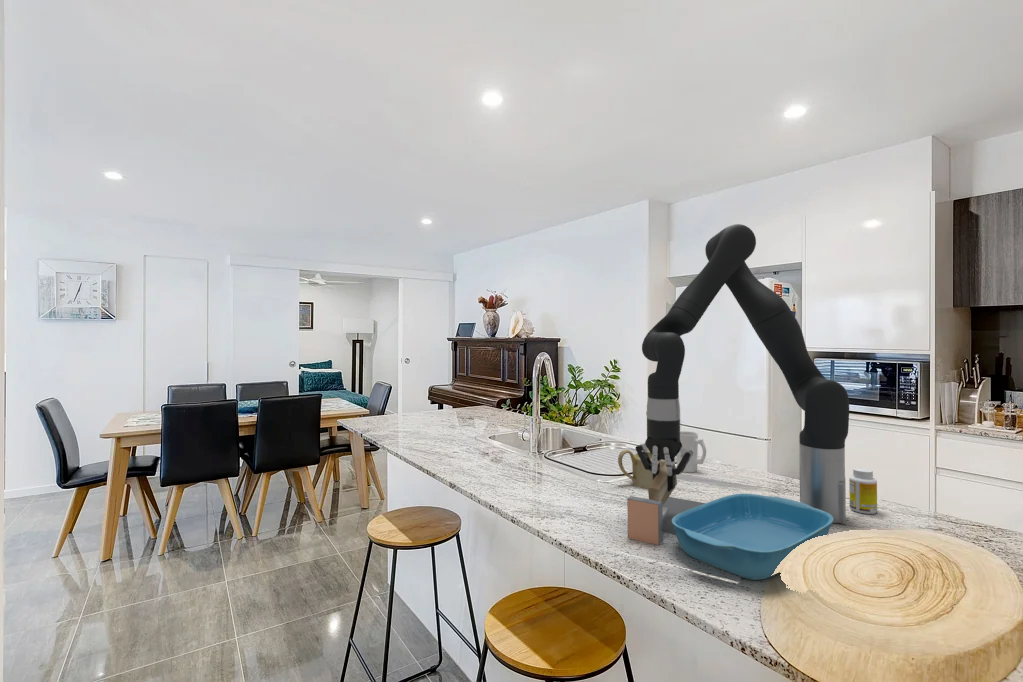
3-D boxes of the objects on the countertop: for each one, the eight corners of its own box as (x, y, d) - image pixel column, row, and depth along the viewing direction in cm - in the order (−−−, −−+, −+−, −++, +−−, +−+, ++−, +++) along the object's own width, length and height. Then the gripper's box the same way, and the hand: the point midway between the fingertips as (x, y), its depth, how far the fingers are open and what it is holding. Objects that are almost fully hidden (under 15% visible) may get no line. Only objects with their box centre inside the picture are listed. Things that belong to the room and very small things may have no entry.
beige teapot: (647, 496, 134) (646, 442, 134) (616, 487, 143) (615, 435, 143) (679, 486, 143) (679, 434, 143) (648, 477, 152) (647, 429, 152)
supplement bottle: (882, 512, 120) (882, 470, 120) (868, 516, 118) (868, 473, 118) (858, 505, 125) (857, 465, 125) (844, 509, 123) (844, 468, 123)
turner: (684, 485, 119) (682, 466, 118) (660, 522, 106) (658, 501, 105) (660, 481, 123) (658, 462, 122) (634, 517, 109) (632, 496, 109)
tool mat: (710, 506, 126) (710, 504, 126) (681, 538, 107) (681, 536, 107) (663, 497, 133) (663, 495, 133) (629, 526, 114) (629, 524, 114)
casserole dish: (745, 514, 121) (744, 485, 121) (849, 544, 103) (849, 510, 103) (651, 556, 99) (651, 521, 99) (763, 604, 81) (763, 561, 81)
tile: (662, 544, 104) (662, 501, 104) (659, 547, 103) (658, 504, 102) (631, 536, 108) (630, 495, 108) (627, 539, 107) (627, 498, 106)
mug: (671, 469, 160) (671, 433, 160) (683, 466, 164) (683, 430, 164) (700, 476, 152) (700, 437, 152) (711, 472, 156) (711, 434, 156)
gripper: (698, 417, 115) (698, 490, 115) (641, 412, 123) (641, 480, 123) (688, 422, 109) (688, 499, 109) (629, 416, 117) (629, 488, 117)
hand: (663, 489), depth 116 cm, fingers closed on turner
